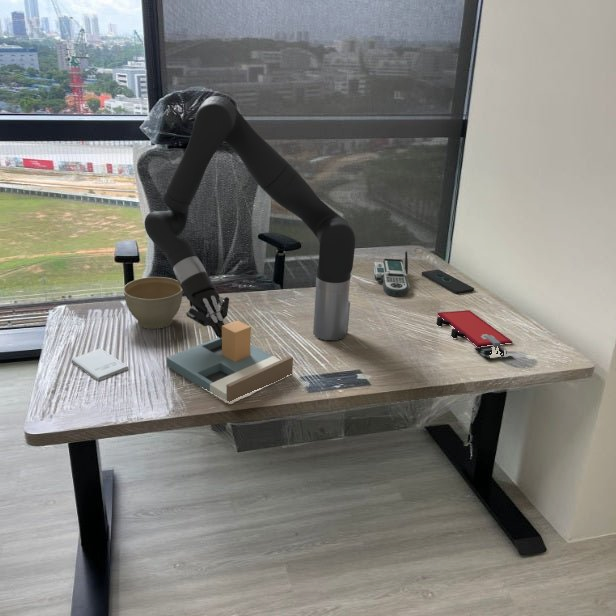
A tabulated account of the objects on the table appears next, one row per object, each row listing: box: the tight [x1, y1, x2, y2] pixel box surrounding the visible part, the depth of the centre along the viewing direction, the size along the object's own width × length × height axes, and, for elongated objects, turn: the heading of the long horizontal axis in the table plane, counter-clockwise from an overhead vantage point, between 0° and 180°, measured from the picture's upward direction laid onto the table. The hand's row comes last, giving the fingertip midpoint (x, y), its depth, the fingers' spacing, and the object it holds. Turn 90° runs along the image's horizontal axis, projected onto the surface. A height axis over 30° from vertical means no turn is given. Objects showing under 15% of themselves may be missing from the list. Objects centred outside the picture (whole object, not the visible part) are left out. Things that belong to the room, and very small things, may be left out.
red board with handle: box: [435, 309, 513, 360], centre depth 173 cm, size 30×3×15 cm
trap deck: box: [166, 337, 294, 402], centre depth 147 cm, size 20×24×5 cm
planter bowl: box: [123, 276, 184, 330], centre depth 169 cm, size 16×16×11 cm
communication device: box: [373, 250, 410, 298], centre depth 206 cm, size 12×24×9 cm, turn 178°
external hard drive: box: [70, 348, 129, 382], centre depth 148 cm, size 2×8×12 cm
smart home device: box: [421, 269, 475, 295], centre depth 211 cm, size 8×2×20 cm
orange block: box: [222, 320, 252, 362], centre depth 149 cm, size 5×5×8 cm
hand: (223, 336), depth 152 cm, fingers closed
